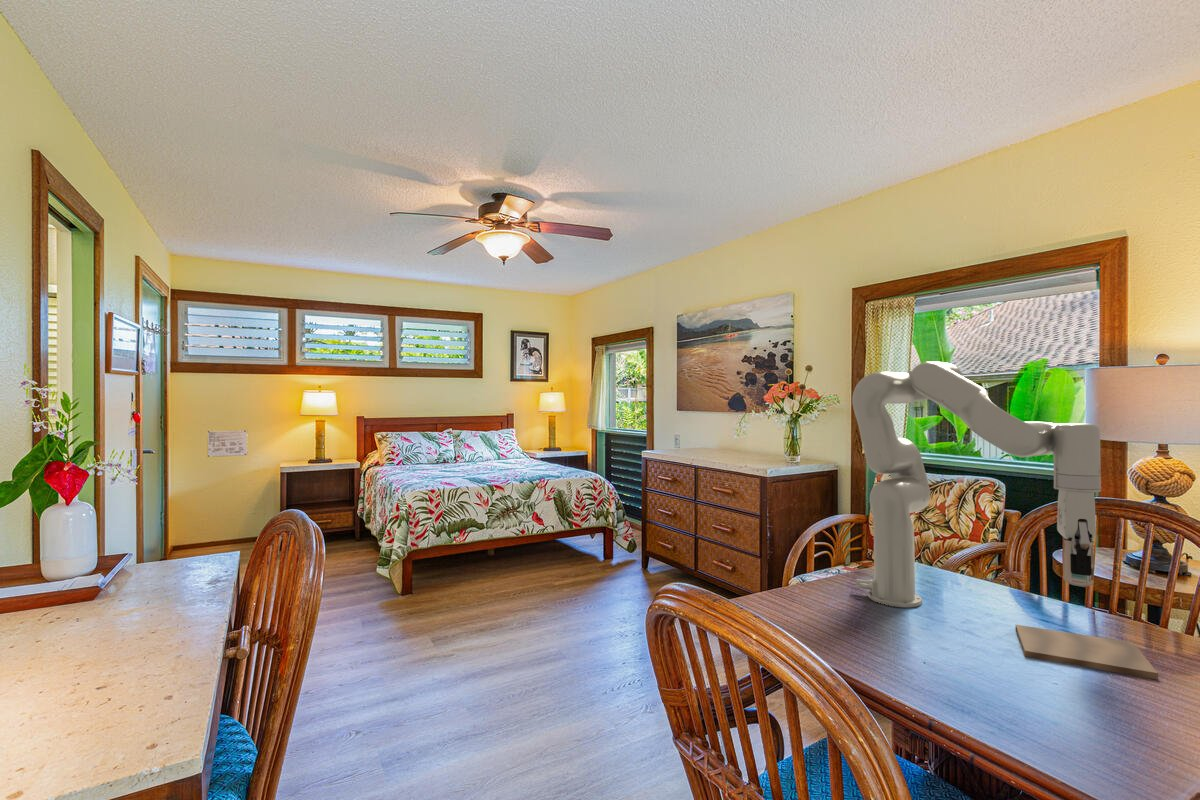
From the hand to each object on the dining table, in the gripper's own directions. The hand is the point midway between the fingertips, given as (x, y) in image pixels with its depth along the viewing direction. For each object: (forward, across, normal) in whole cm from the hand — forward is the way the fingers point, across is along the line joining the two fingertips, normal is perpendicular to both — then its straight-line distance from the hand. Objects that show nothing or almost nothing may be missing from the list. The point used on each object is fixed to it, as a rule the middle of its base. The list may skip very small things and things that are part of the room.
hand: (1078, 570), depth 119 cm
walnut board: (+17, 0, 0) cm, 17 cm away
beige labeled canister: (+3, 0, 0) cm, 3 cm away
